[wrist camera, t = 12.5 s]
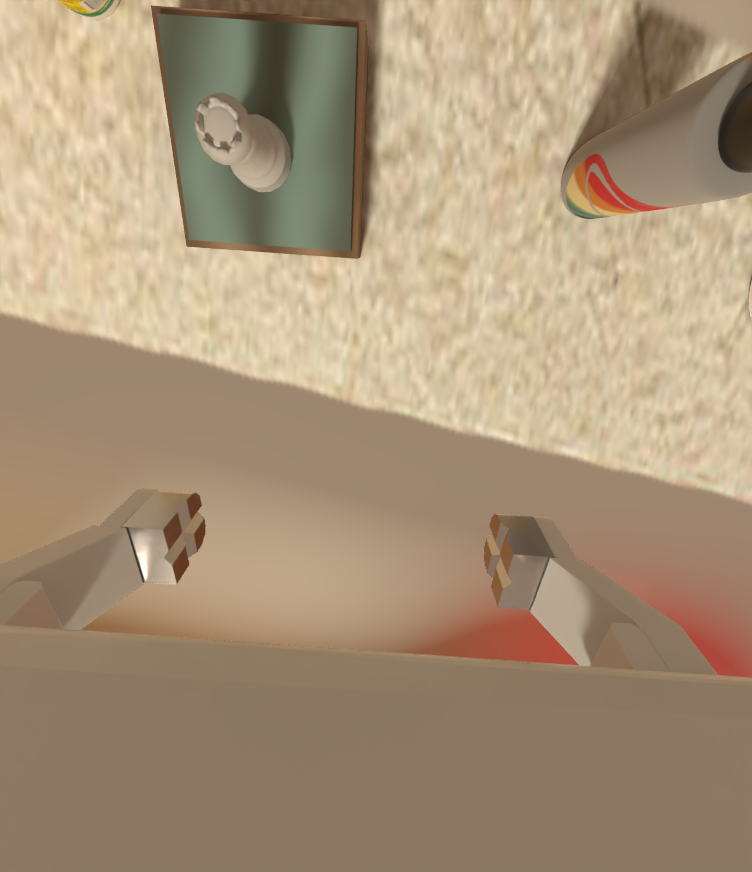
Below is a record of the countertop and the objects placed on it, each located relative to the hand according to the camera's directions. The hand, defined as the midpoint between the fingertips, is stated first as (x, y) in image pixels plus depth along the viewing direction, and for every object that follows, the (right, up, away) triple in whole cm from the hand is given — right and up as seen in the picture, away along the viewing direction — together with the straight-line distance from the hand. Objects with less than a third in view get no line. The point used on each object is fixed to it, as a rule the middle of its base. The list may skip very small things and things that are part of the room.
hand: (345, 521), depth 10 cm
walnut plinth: (-7, +25, +20) cm, 33 cm away
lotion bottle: (+19, +23, +20) cm, 36 cm away
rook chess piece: (-7, +23, +17) cm, 30 cm away
